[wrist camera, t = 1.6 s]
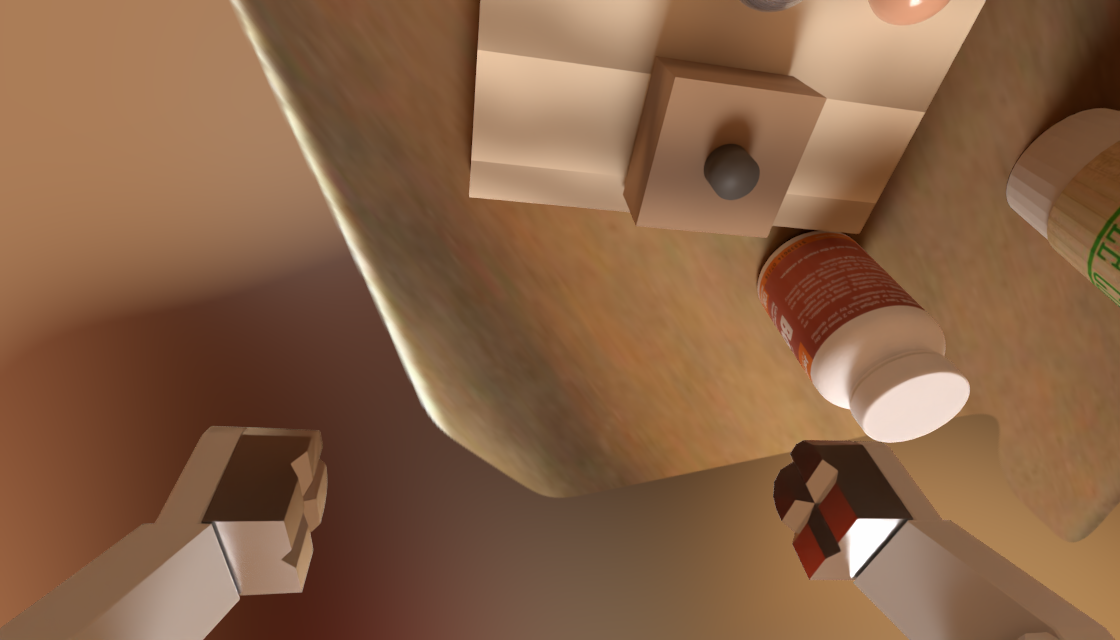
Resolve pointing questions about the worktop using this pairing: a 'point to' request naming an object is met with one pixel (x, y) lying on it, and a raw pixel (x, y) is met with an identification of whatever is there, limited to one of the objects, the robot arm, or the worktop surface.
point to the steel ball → (770, 4)
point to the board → (707, 37)
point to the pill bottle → (861, 336)
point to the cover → (717, 147)
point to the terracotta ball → (906, 10)
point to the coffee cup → (1075, 193)
